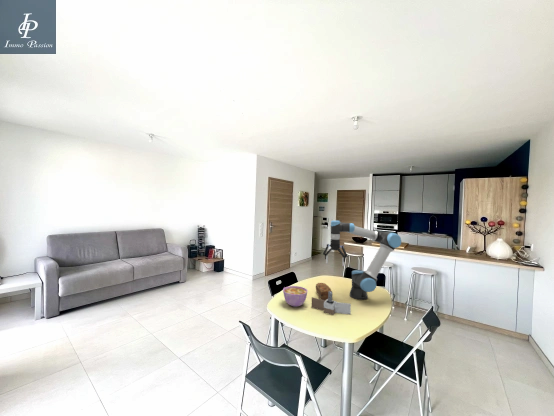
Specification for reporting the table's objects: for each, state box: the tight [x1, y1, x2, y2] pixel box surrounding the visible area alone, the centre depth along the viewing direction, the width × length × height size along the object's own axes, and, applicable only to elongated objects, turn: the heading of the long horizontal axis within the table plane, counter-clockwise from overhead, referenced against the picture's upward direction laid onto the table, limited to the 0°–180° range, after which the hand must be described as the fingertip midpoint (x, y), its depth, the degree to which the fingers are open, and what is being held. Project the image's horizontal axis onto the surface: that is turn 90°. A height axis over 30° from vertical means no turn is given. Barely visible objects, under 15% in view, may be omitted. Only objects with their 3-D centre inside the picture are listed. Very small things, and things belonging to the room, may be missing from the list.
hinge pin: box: [328, 290, 333, 304], centre depth 161 cm, size 3×3×15 cm
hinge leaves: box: [311, 297, 352, 316], centre depth 162 cm, size 9×29×8 cm, turn 58°
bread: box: [315, 282, 332, 300], centre depth 192 cm, size 19×11×10 cm, turn 2°
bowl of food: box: [282, 285, 309, 308], centre depth 174 cm, size 20×20×12 cm
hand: (334, 264), depth 178 cm, fingers open, 13 cm apart
